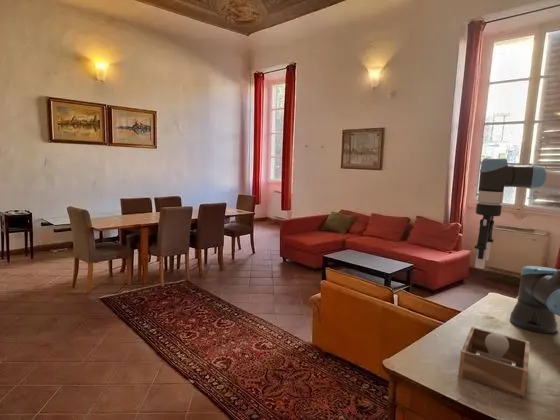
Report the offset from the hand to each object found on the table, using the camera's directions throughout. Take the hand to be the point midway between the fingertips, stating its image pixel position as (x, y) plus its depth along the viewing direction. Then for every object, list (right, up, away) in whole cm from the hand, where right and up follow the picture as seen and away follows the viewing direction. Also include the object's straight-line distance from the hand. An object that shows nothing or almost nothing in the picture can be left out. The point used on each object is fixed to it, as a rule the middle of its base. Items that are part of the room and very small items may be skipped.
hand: (482, 263), depth 128 cm
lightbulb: (-7, -29, -19) cm, 35 cm away
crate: (-7, -29, -18) cm, 35 cm away
